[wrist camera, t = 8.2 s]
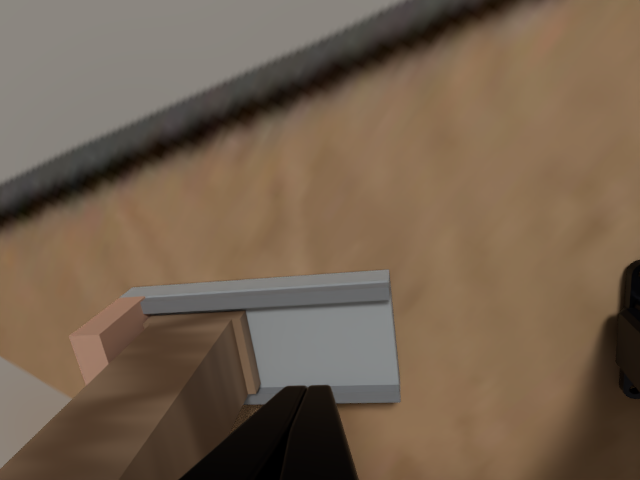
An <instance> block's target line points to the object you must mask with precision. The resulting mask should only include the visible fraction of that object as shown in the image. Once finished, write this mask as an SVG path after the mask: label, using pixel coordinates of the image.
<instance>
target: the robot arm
mask: <svg viewBox="0 0 640 480" xmlns="http://www.w3.org/2000/svg"><path fill="white" fill-rule="evenodd" d="M639 272H640V260H636V261H635V262H633V263H631V264H630V266H629V267H628V270H627V278H626V292H625V306H624V308H623V309H622V310H621V312H620V313H619V318H618V333H617V348H616V363H617V365H618V366H619V367H620V377H619V387H620V389H621V390H622V391H623V393H624V394H625V395H626V396H627V397H629V398H633V399H640V276H638V274H639ZM632 385H634V386H635V388H631V389H630V387H631V386H632ZM178 480H359V479H358V476H357V472H356V469H355V466H354V462H353V459H352V455H351V452H350V449H349V445H348V442H347V439H346V435H345V432H344V429H343V425H342V422H341V419H340V415H339V412H338V409H337V405H336V402H335V399H334V395H333V392H332V389H331V387H330V386H329V385H311V386H309V387H307V386H305V385H296V386H285V387H284V388H283V389H282V390H280V391H279V392H278V393H277V394H276V395H275V396H273V397H272V398H271V399H270V400H269V401H268V402H267V403H265V404H264V405H263V406H262V407H261V408H260V409H259V410H257V411H256V412H255V413H254V414H253V415H252V416H250V417H249V418H248V419H247V420H246V421H245V422H244V423H242V424H241V425H240V426H239V427H238V428H237V429H236V430H234V431H233V432H232V433H231V434H230V435H229V436H227V437H226V438H225V439H224V440H223V441H222V442H221V443H219V444H218V445H217V446H216V447H215V448H214V449H213V450H211V451H210V452H209V453H208V454H207V455H206V456H204V457H203V458H202V459H201V460H200V461H199V462H198V463H196V464H195V465H194V466H193V467H192V468H191V469H190V470H188V471H187V472H186V473H185V474H184V475H183V476H182V477H180V478H179V479H178Z"/></svg>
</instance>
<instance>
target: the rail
mask: <svg viewBox="0 0 640 480" xmlns="http://www.w3.org/2000/svg"><path fill="white" fill-rule="evenodd" d="M242 310H246V315H247V320H248V325H249V329H250V334H251V339H252V344H253V349H254V353H255V358H256V363H257V368H258V373H259V377H260V382H261V384H260V386H259V389H258V391H257V393H256V394H248V395H247V397H246V400H245V402H244V404H243V405H250V404H265V403H267V402H268V401H269V400H270V399H271V398H272V397H273V396H275V395H276V394H277V393H278V392H279V391H280V390H282V389H283V388H284V387H285V386H296V385H305V386H307V387H309V386H311V385H329V386H330V387H331V389H332V392H333V395H334V399H335V402H336V403H389V402H400V375H399V365H398V355H397V345H396V335H395V325H394V315H393V305H392V295H391V285H390V275H389V270H375V271H361V272H347V273H333V274H318V275H304V276H290V277H275V278H261V279H247V280H233V281H218V282H204V283H190V284H176V285H161V286H147V287H133V288H131V289H130V290H129V291H127V292H126V293H125V294H123V295H122V296H121V297H119V298H118V299H117V300H116V301H114V302H113V303H112V304H110V305H109V306H108V307H106V308H105V309H104V310H102V311H101V312H100V313H99V314H97V315H96V316H95V317H93V318H92V319H91V320H89V321H88V322H87V323H85V324H84V325H83V326H82V327H80V328H79V329H78V330H76V331H75V332H74V333H72V334H71V335H70V336H69V338H70V341H71V344H72V347H73V349H74V352H75V355H76V358H77V361H78V364H79V367H80V370H81V373H82V376H83V378H84V381H85V384H86V386H87V385H88V384H89V383H90V382H91V381H92V380H93V379H94V378H95V377H96V376H97V375H98V374H99V373H100V372H101V371H102V370H103V369H104V368H105V367H106V366H107V365H108V364H109V363H110V362H111V361H112V360H113V359H114V358H115V357H116V356H117V355H118V354H120V353H121V352H122V351H123V350H124V349H125V348H126V347H127V346H128V345H129V344H130V343H131V342H132V341H133V340H134V339H135V338H136V337H137V336H138V335H139V334H140V333H141V332H142V331H143V330H144V326H143V323H144V322H145V321H146V320H147V319H148V318H150V317H151V316H153V315H171V314H189V313H206V312H224V311H242Z"/></svg>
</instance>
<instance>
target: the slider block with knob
mask: <svg viewBox="0 0 640 480" xmlns="http://www.w3.org/2000/svg"><path fill="white" fill-rule="evenodd" d="M143 326H144V330H143V331H142V332H141V333H140V334H139V335H138V336H137V337H136V338H135V339H134V340H133V341H132V342H131V343H130V344H129V345H128V346H127V347H126V348H125V349H124V350H123V351H122V352H121V353H120V354H118V355H117V356H116V357H115V358H114V359H113V360H112V361H111V362H110V363H109V364H108V365H107V366H106V367H105V368H104V369H103V370H102V371H101V372H100V373H99V374H98V375H97V376H96V377H95V378H94V379H93V380H92V381H91V382H90V383H89V384H88V385H87V386H85V387H84V388H83V389H82V390H81V391H80V392H79V393H78V394H77V395H76V396H75V397H74V398H73V399H72V400H71V401H70V402H69V403H68V404H67V405H66V406H65V407H64V408H63V409H62V410H61V411H60V412H59V413H58V414H57V415H56V416H55V417H53V418H52V419H51V420H50V421H49V422H48V423H47V424H46V425H45V426H44V427H43V428H42V429H41V430H40V431H39V432H38V433H37V434H36V435H35V436H34V437H33V438H32V439H31V440H30V441H29V442H28V443H27V444H26V445H25V446H24V447H23V448H21V450H20V451H18V453H16V454H15V455H14V457H12V458H11V459H10V460H9V461H8V462H7V463H6V464H5V465H4V466H3V467H2V468H1V469H0V480H178V479H179V478H180V477H182V476H183V475H184V474H185V473H186V472H187V471H188V470H190V469H191V468H192V467H193V466H194V465H195V464H196V463H198V462H199V461H200V460H201V459H202V458H203V457H204V456H206V455H207V454H208V453H209V452H210V451H211V450H213V449H214V448H215V447H216V446H217V445H218V444H219V443H221V442H222V441H223V440H224V439H225V438H226V437H227V436H228V435H229V433H230V431H231V429H232V427H233V425H234V423H235V421H236V418H237V416H238V414H239V412H240V410H241V408H242V406H243V404H244V402H245V400H246V397H247V395H248V394H256V393H257V391H258V389H259V386H260V384H261V382H260V377H259V373H258V368H257V363H256V358H255V353H254V349H253V344H252V339H251V334H250V329H249V325H248V320H247V315H246V310H242V311H224V312H206V313H189V314H171V315H153V316H151V317H150V318H148V319H147V320H146V321H145V322H144V323H143Z"/></svg>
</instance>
